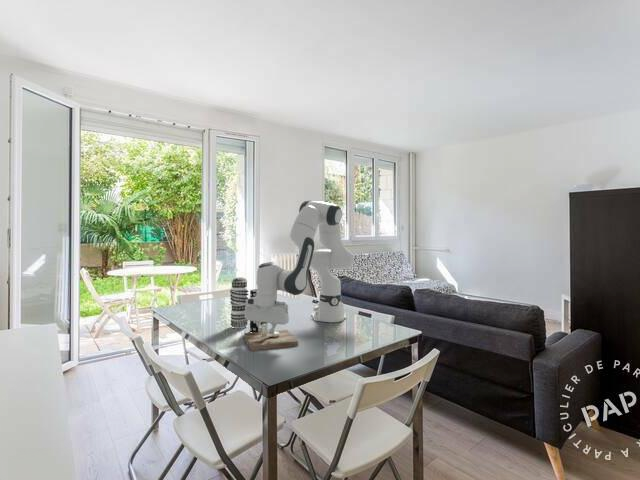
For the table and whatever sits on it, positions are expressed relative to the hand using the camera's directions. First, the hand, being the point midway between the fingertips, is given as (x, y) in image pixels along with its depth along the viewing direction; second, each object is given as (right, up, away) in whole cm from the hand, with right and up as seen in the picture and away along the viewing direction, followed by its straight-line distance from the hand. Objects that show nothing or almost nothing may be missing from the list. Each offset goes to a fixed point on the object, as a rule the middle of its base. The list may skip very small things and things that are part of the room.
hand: (266, 332), depth 151 cm
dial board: (+1, -5, +4) cm, 6 cm away
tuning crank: (+1, -3, +3) cm, 4 cm away
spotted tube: (-7, -5, +20) cm, 21 cm away
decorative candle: (-18, -5, +27) cm, 33 cm away
